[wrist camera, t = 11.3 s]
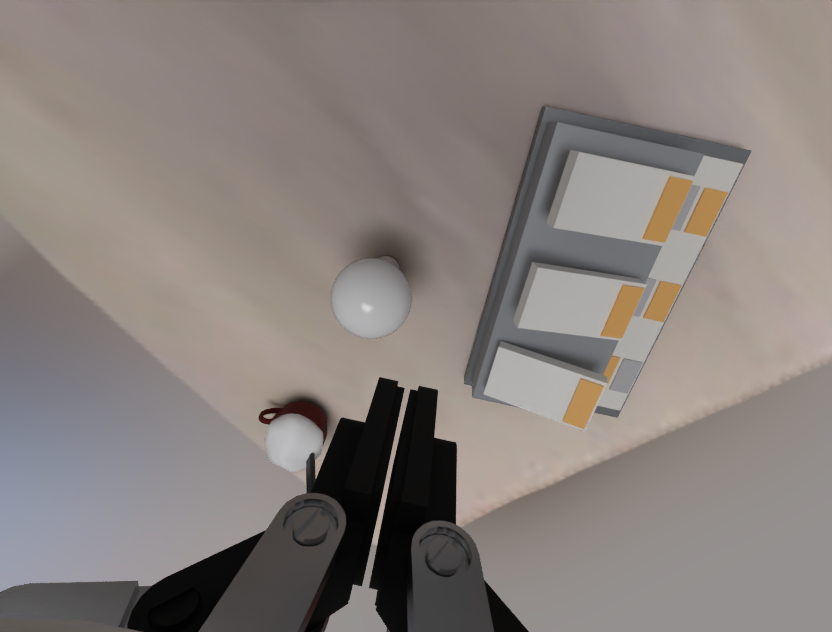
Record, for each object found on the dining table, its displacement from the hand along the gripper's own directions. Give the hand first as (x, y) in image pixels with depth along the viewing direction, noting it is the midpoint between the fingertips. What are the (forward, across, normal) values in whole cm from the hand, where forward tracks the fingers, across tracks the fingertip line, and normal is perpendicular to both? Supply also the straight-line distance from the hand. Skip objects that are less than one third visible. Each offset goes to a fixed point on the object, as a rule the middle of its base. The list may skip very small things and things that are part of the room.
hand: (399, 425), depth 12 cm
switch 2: (+23, -12, +3) cm, 26 cm away
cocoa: (+29, +10, +26) cm, 41 cm away
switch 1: (+23, -12, -5) cm, 26 cm away
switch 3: (+23, -12, +11) cm, 28 cm away
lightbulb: (+29, +4, +6) cm, 30 cm away
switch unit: (+29, -14, +3) cm, 32 cm away
